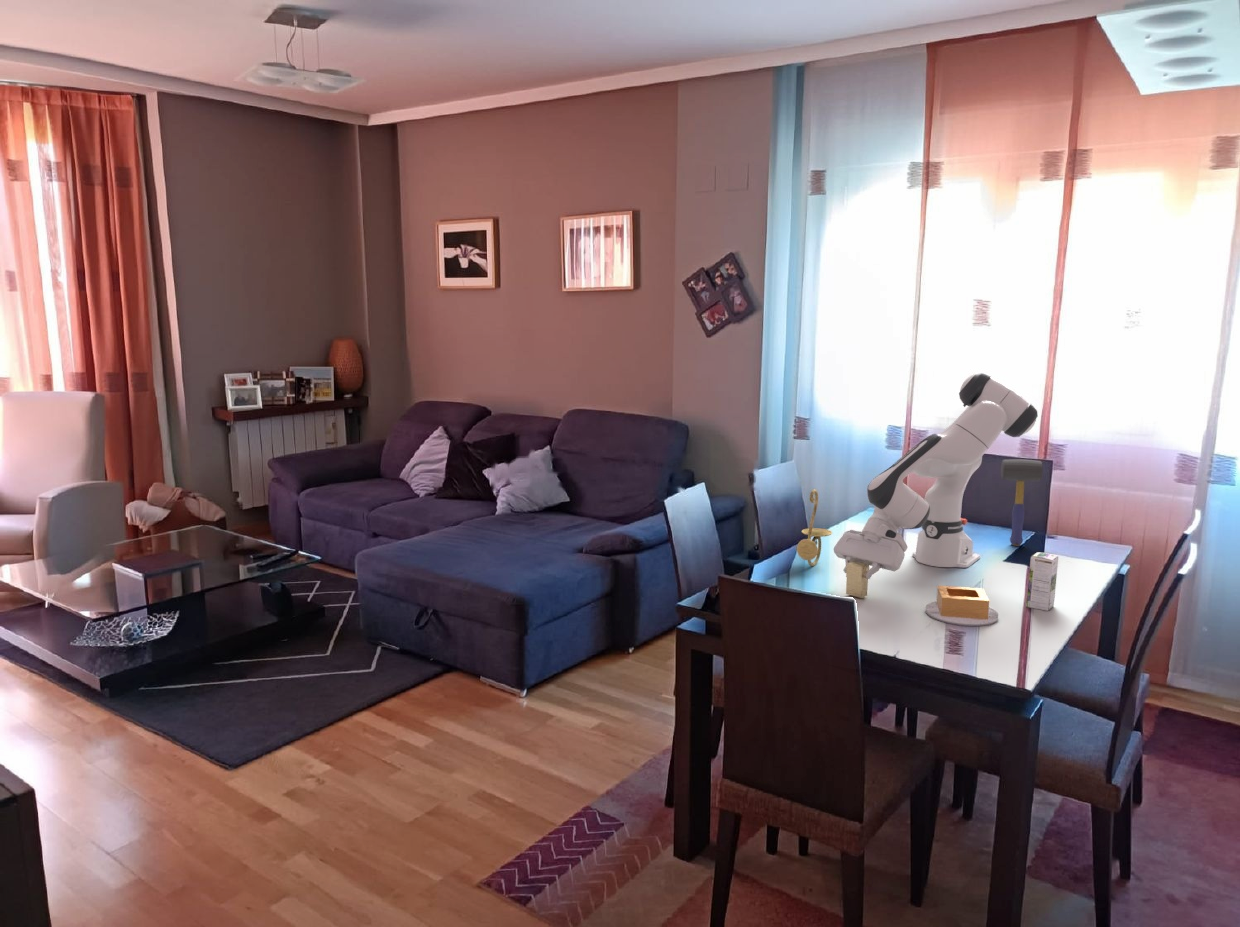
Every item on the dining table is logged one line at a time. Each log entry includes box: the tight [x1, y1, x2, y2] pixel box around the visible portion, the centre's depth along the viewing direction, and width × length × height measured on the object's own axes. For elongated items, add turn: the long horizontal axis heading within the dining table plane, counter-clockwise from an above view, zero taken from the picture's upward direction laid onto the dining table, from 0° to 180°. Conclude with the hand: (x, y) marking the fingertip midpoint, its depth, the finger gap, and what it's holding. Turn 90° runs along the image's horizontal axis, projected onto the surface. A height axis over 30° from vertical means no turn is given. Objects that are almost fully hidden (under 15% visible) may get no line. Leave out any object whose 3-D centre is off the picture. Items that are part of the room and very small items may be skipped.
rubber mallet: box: [1000, 458, 1044, 547], centre depth 300 cm, size 12×8×30 cm, turn 74°
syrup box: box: [1025, 551, 1060, 612], centre depth 239 cm, size 6×6×14 cm
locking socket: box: [925, 585, 999, 627], centre depth 233 cm, size 18×18×6 cm
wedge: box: [845, 561, 870, 599], centre depth 248 cm, size 4×5×9 cm
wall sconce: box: [796, 489, 833, 567], centre depth 277 cm, size 14×10×25 cm
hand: (856, 575), depth 247 cm, fingers closed on wedge, 5 cm apart
